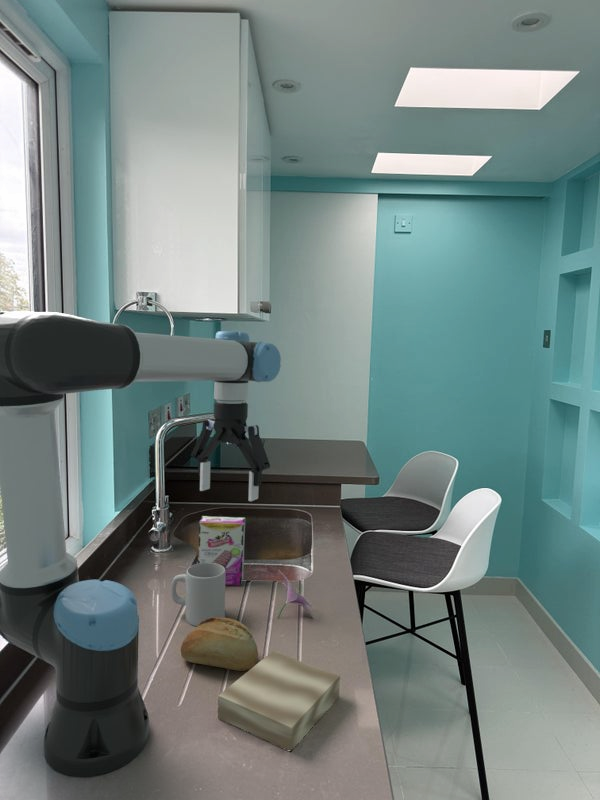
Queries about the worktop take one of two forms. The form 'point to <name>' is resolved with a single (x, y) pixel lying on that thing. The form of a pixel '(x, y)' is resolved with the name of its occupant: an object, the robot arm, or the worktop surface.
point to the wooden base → (279, 699)
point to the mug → (202, 592)
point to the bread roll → (221, 645)
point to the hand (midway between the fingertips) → (228, 494)
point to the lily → (294, 597)
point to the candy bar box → (223, 545)
